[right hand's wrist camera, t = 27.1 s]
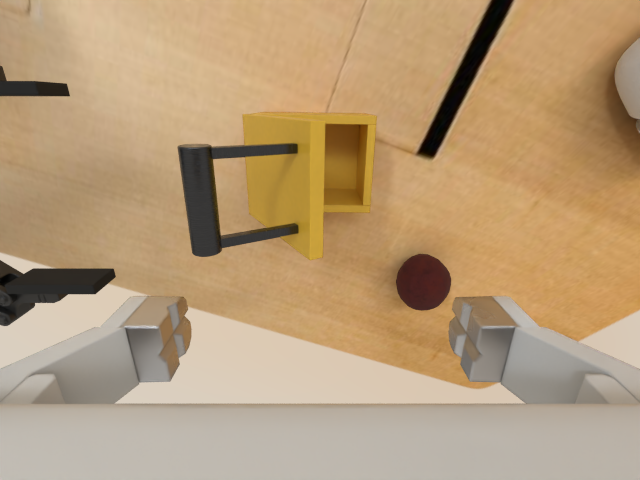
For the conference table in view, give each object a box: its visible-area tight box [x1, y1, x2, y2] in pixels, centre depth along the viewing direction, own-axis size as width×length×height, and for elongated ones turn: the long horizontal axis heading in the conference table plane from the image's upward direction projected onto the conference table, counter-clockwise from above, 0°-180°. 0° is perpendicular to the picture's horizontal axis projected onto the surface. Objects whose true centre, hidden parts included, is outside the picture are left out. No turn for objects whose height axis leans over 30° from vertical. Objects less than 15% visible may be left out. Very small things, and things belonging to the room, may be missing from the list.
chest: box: [253, 112, 377, 213], centre depth 40 cm, size 13×10×9 cm
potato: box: [396, 254, 451, 310], centre depth 47 cm, size 7×8×7 cm
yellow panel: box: [178, 114, 325, 260], centre depth 28 cm, size 14×10×9 cm
